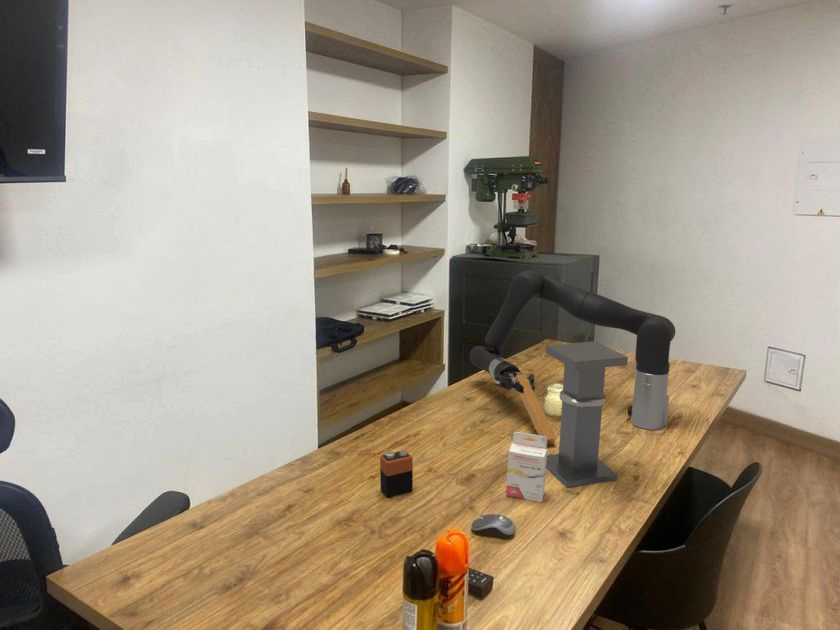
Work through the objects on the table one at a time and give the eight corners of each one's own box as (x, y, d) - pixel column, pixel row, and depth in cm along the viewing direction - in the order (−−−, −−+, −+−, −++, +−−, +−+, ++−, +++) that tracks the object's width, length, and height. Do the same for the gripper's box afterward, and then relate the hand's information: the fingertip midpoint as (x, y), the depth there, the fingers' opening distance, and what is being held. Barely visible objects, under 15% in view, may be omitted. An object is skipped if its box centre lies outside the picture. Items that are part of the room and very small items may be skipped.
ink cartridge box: (505, 496, 138) (507, 438, 135) (509, 486, 143) (511, 430, 139) (542, 503, 135) (545, 444, 132) (545, 492, 140) (548, 435, 137)
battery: (379, 489, 141) (379, 451, 139) (405, 483, 144) (405, 445, 142) (387, 498, 137) (386, 459, 135) (413, 491, 140) (413, 453, 138)
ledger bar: (522, 380, 182) (525, 374, 180) (553, 444, 165) (556, 438, 163) (513, 381, 181) (516, 374, 179) (543, 446, 164) (546, 439, 162)
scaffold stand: (586, 454, 159) (594, 341, 151) (616, 479, 146) (627, 357, 138) (539, 461, 155) (546, 345, 148) (566, 487, 142) (575, 361, 135)
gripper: (484, 362, 188) (506, 379, 172) (524, 359, 192) (549, 375, 176) (483, 384, 190) (505, 403, 174) (523, 380, 194) (548, 399, 178)
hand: (527, 389), depth 175 cm, fingers closed on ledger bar, 3 cm apart
